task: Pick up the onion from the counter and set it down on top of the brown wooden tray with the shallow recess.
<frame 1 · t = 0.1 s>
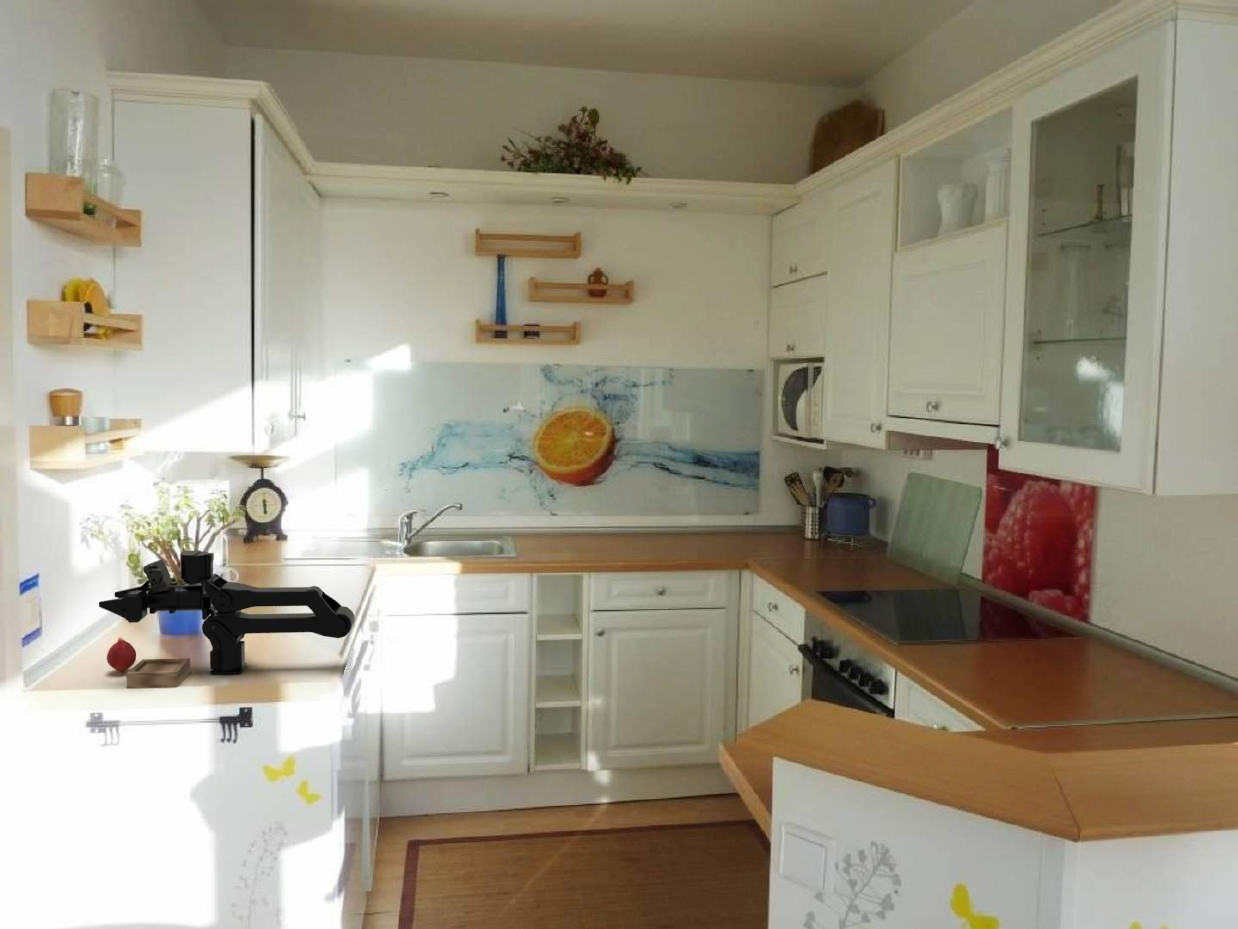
hand: (107, 599, 216), 17 cm above the countertop, tool horizontal, fingers open, 9 cm apart
onion: (122, 673, 218), on the countertop
brown wooden tray: (159, 680, 213), on the countertop
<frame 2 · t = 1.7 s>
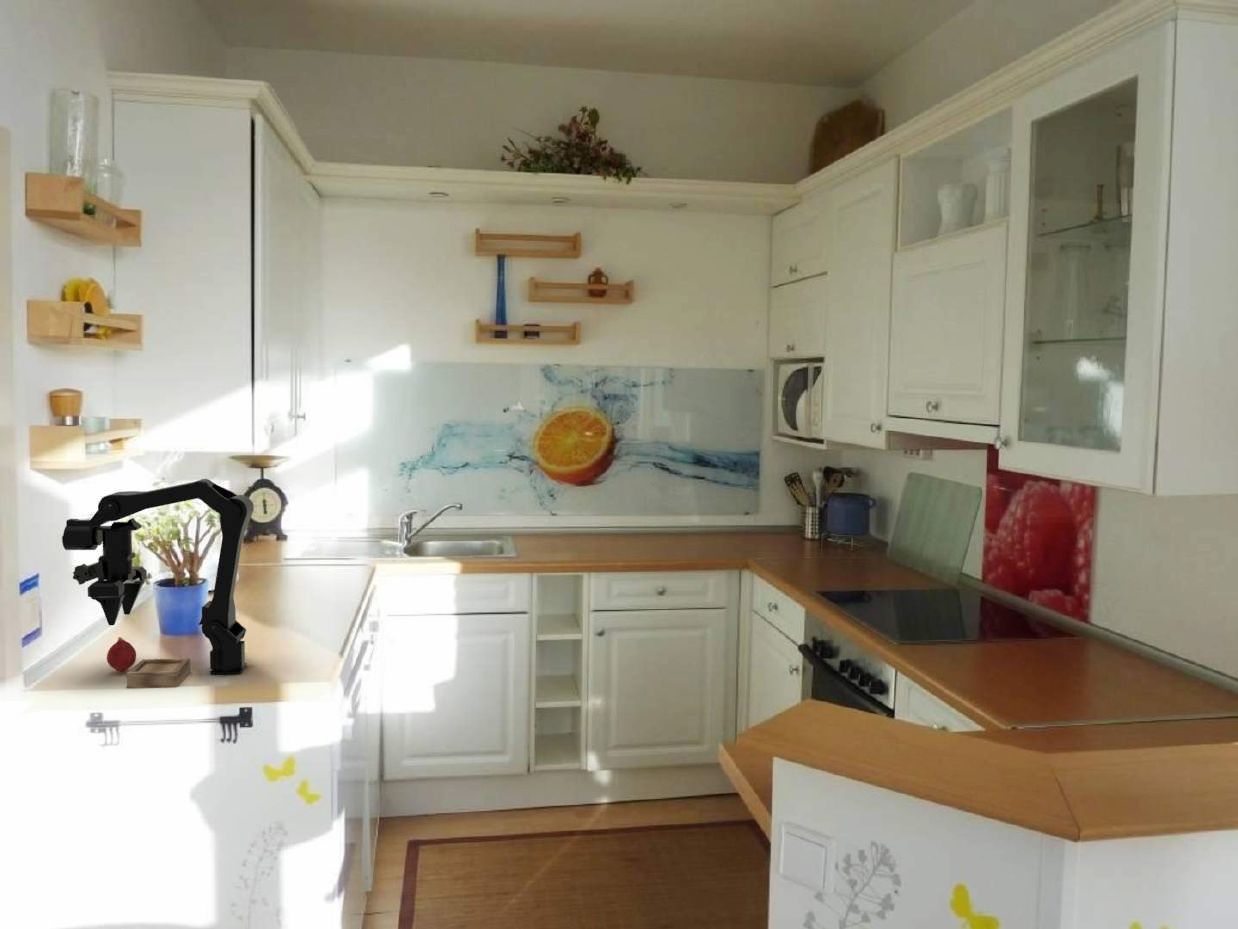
hand: (119, 619, 217), 12 cm above the countertop, tool pointing down, fingers open, 9 cm apart
nothing on the countertop moved.
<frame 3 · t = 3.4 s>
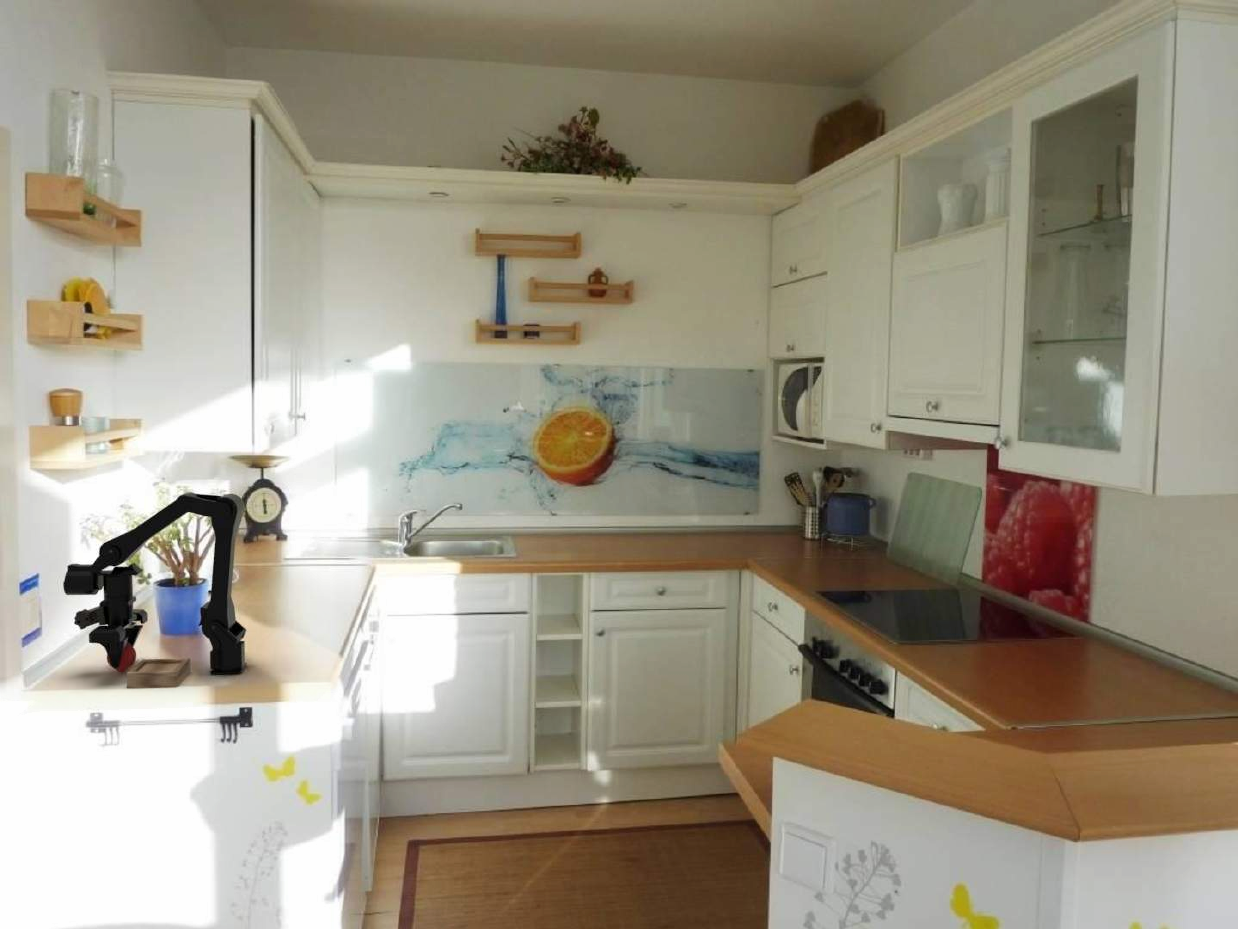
hand: (120, 663, 218), 2 cm above the countertop, tool pointing down, fingers closed on onion, 6 cm apart
onion: (122, 673, 218), on the countertop, touching gripper
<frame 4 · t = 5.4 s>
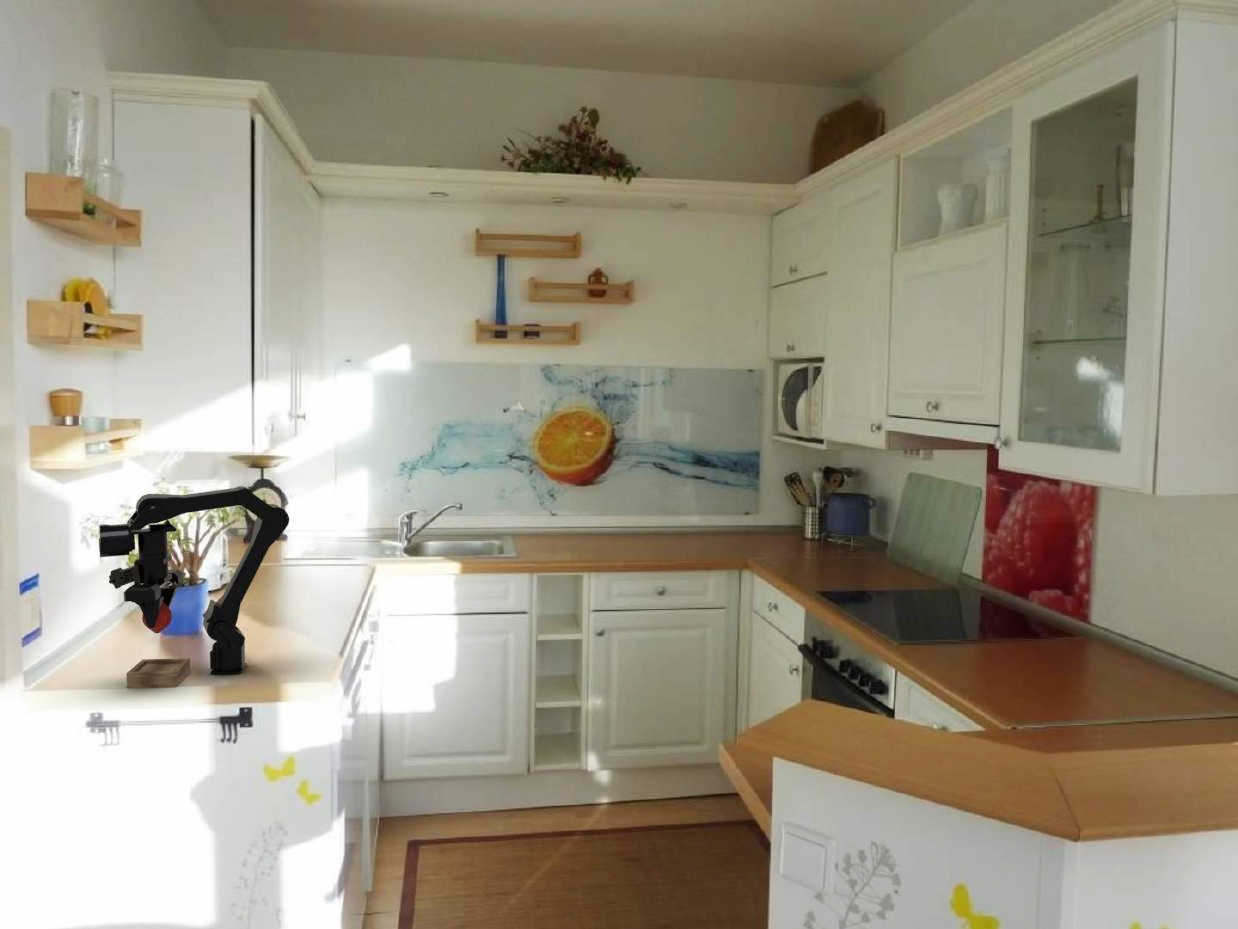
hand: (156, 624, 212), 12 cm above the countertop, tool pointing down, fingers closed on onion, 6 cm apart
onion: (157, 634, 213), point 10 cm above the countertop, touching gripper
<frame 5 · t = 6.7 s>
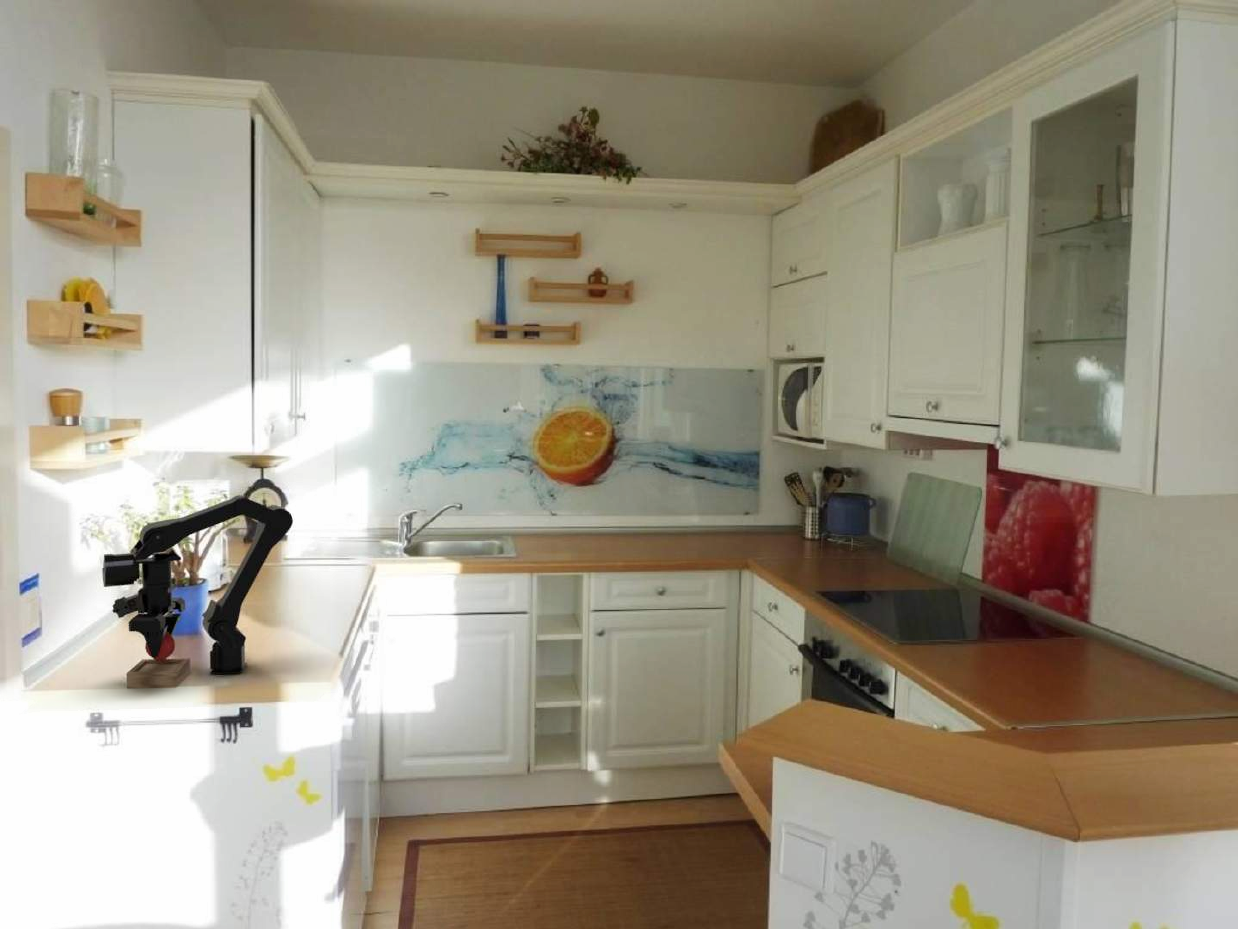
hand: (159, 652, 213), 6 cm above the countertop, tool pointing down, fingers closed on onion, 6 cm apart
onion: (160, 663, 213), point 4 cm above the countertop, touching gripper
when the fingers open (6 cm above the countertop, at t = 7.5 s): onion drops 1 cm, resting on brown wooden tray.
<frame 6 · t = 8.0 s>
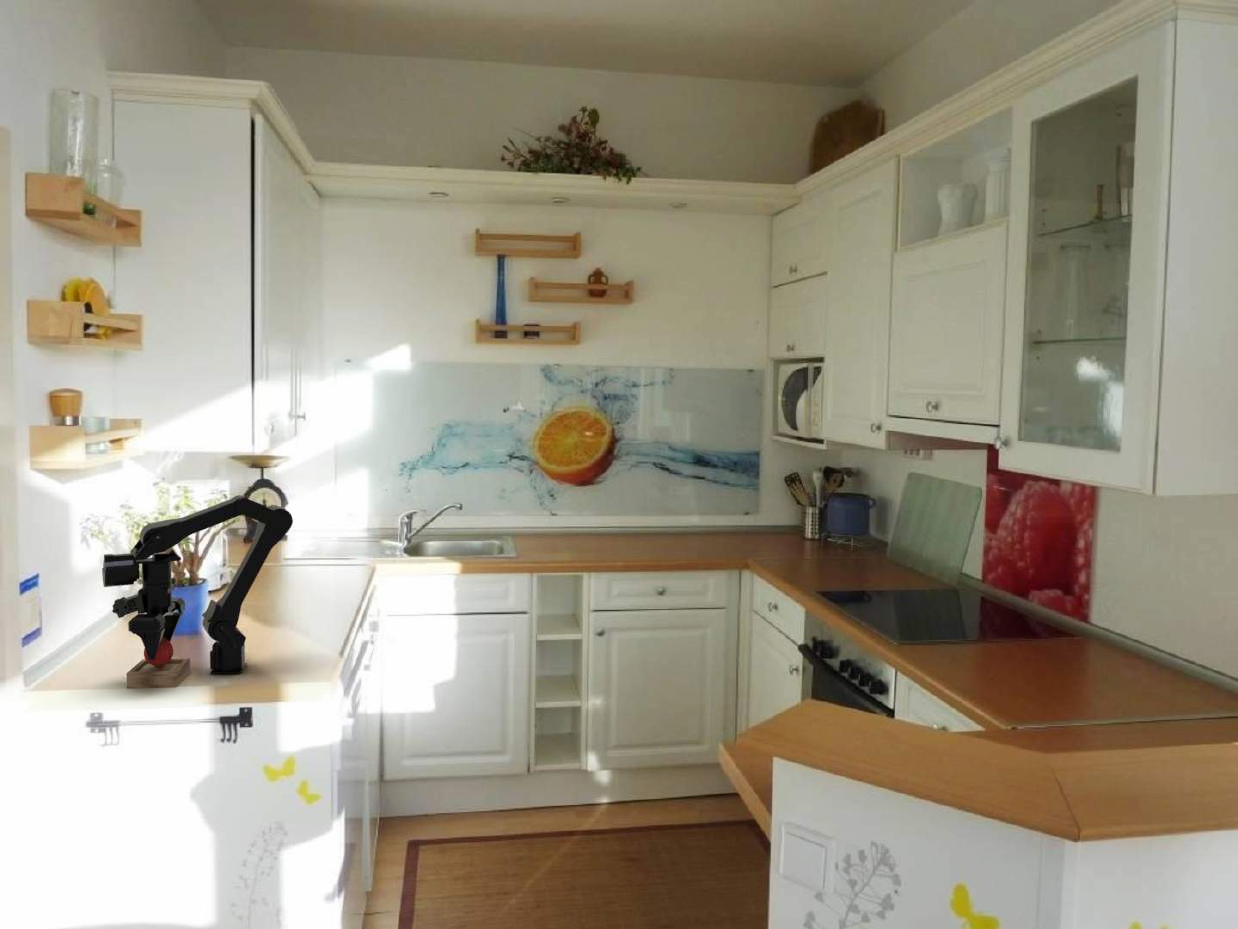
hand: (158, 653, 213), 6 cm above the countertop, tool pointing down, fingers open, 9 cm apart
onion: (160, 669, 213), point 2 cm above the countertop, touching brown wooden tray
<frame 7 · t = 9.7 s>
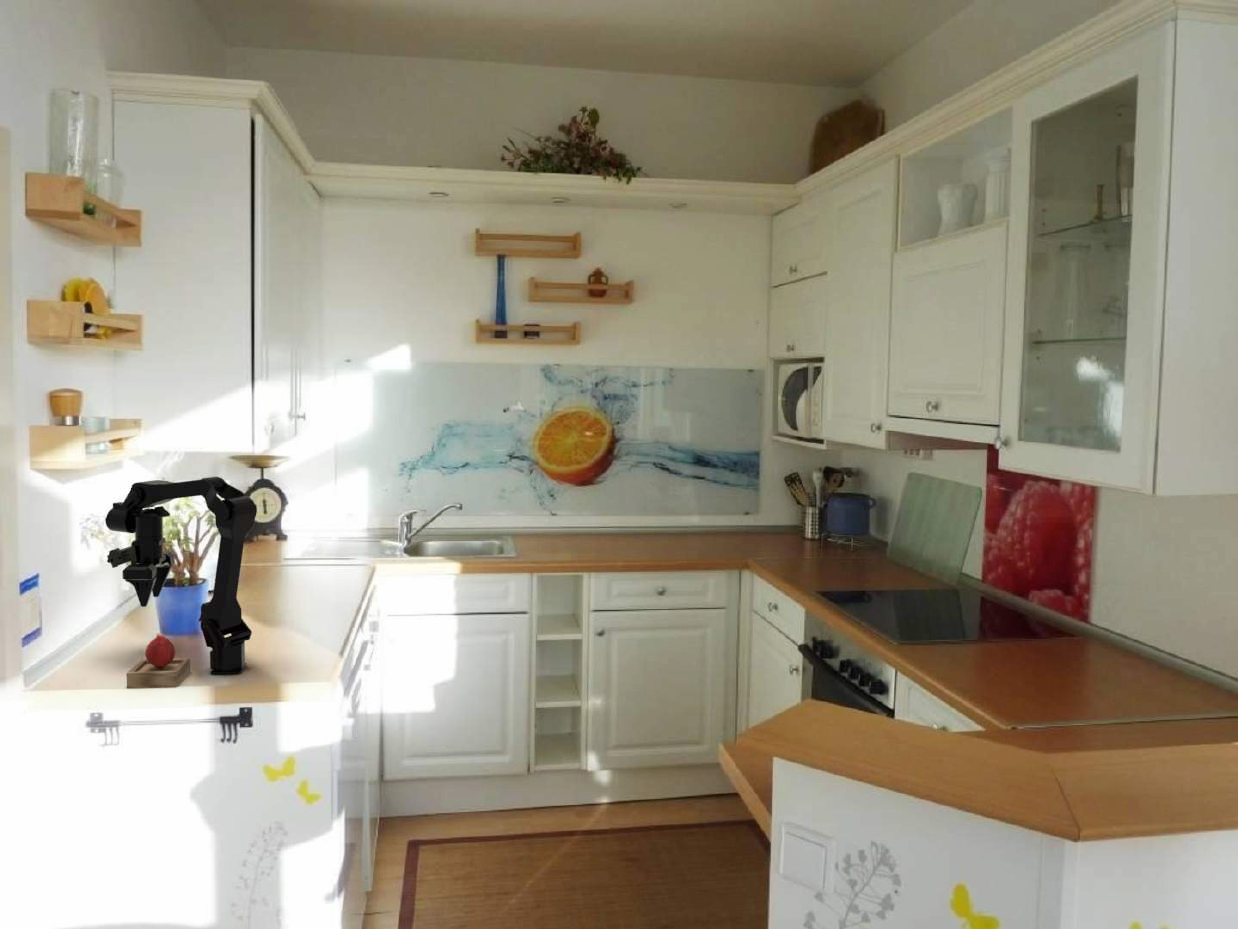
hand: (150, 601, 228), 13 cm above the countertop, tool pointing down, fingers open, 9 cm apart
nothing on the countertop moved.
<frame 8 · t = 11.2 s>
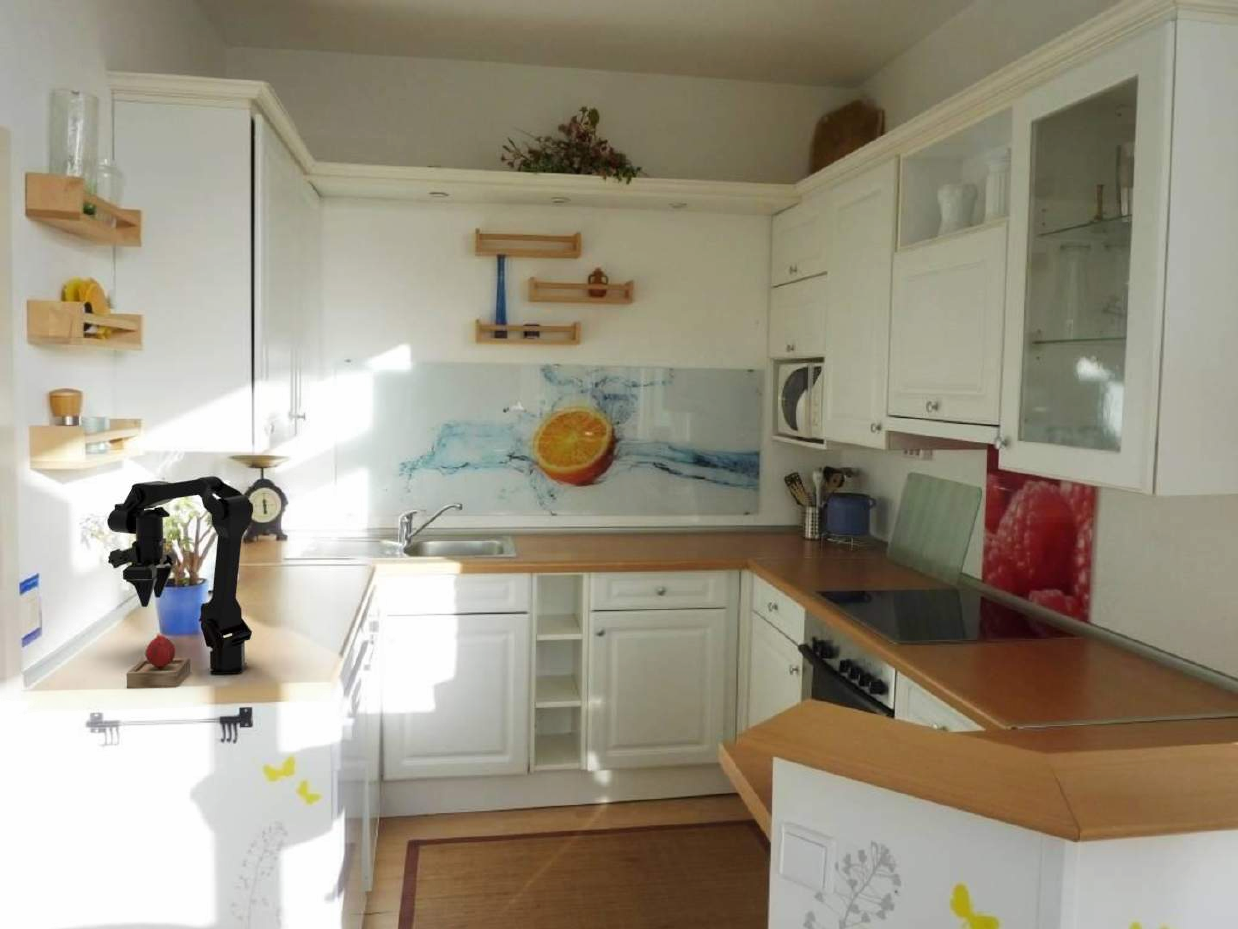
hand: (151, 602, 229), 13 cm above the countertop, tool pointing down, fingers open, 9 cm apart
nothing on the countertop moved.
at the end: onion 0.3 cm from the brown wooden tray (horizontally); onion touching brown wooden tray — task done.
